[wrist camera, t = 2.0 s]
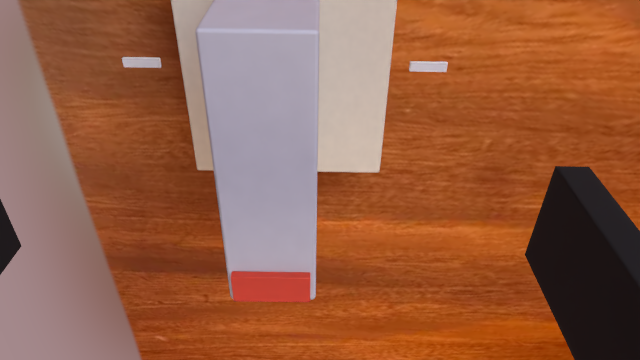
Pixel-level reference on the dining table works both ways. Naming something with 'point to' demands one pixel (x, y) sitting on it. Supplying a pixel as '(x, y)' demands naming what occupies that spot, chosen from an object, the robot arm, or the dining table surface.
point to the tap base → (334, 80)
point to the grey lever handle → (264, 141)
